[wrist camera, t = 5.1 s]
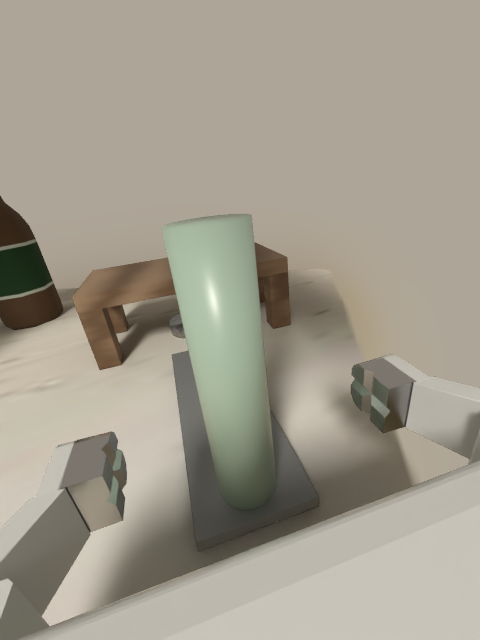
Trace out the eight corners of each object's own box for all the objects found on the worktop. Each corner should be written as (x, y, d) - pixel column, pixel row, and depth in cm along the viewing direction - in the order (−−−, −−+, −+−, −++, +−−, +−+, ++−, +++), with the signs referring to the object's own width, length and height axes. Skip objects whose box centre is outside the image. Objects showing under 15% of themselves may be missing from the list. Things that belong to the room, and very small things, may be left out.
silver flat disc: (173, 345, 32) (170, 333, 31) (170, 324, 37) (167, 314, 36) (223, 333, 33) (221, 322, 32) (213, 315, 38) (212, 305, 37)
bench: (99, 369, 28) (71, 297, 25) (111, 327, 37) (92, 270, 34) (290, 324, 32) (287, 257, 29) (260, 296, 41) (255, 242, 38)
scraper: (318, 507, 14) (318, 211, 9) (199, 552, 13) (103, 244, 7) (233, 347, 29) (211, 200, 24) (173, 361, 28) (135, 210, 22)
